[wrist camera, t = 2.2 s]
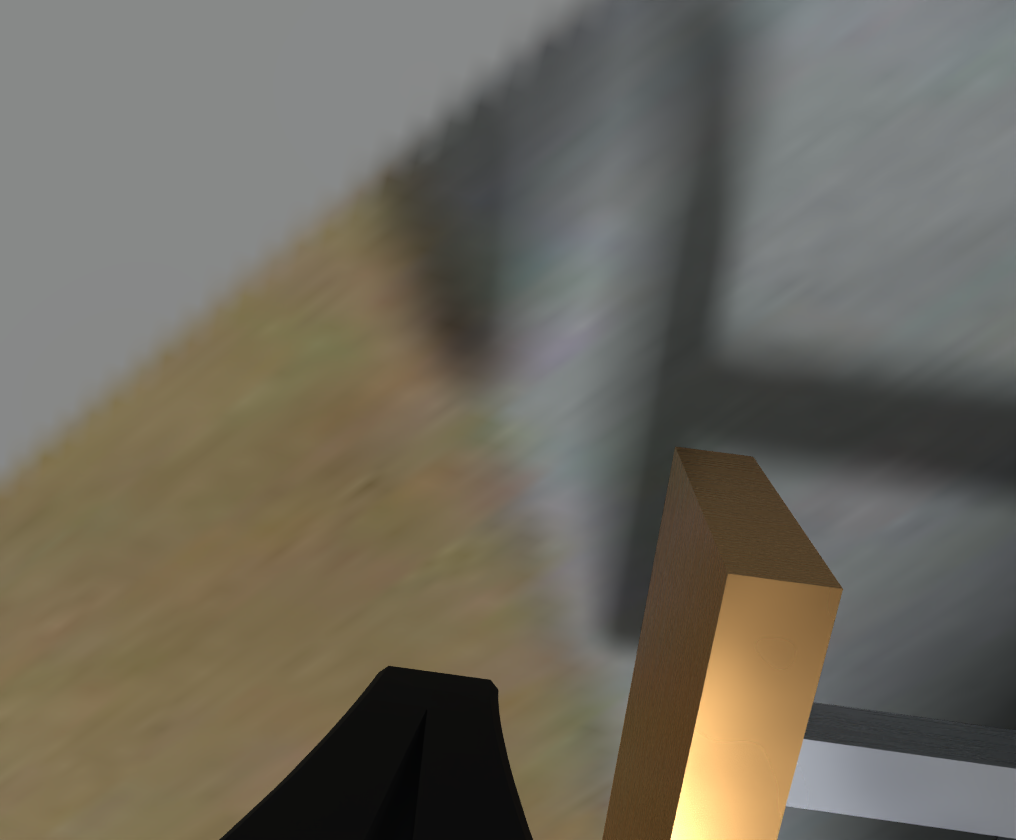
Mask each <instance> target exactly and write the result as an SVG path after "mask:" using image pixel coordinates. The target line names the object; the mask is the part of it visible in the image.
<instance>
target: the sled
mask: <svg viewBox="0 0 1016 840" xmlns="http://www.w3.org/2000/svg"><path fill="white" fill-rule="evenodd" d="M842 591H843V588H842V587H841V585H840V584H839V583H838V581H837V580H836V578H835V577H834V575H833V574H832V572H831V571H830V569H829V568H828V566H827V565H826V563H825V562H824V560H823V559H822V558H821V556H820V555H819V553H818V552H817V550H816V549H815V547H814V546H813V544H812V543H811V541H810V540H809V538H808V537H807V535H806V534H805V532H804V531H803V530H802V528H801V527H800V525H799V524H798V522H797V521H796V519H795V518H794V516H793V515H792V513H791V512H790V510H789V509H788V507H787V506H786V505H785V503H784V502H783V500H782V499H781V497H780V496H779V494H778V493H777V491H776V490H775V488H774V487H773V485H772V484H771V482H770V481H769V479H768V478H767V477H766V475H765V474H764V472H763V471H762V469H761V468H760V466H759V465H758V463H757V462H756V460H755V459H754V457H751V456H744V455H736V454H728V453H721V452H713V451H705V450H697V449H690V448H682V447H675V451H674V456H673V462H672V467H671V472H670V478H669V483H668V489H667V494H666V499H665V505H664V510H663V516H662V521H661V526H660V532H659V537H658V542H657V548H656V553H655V559H654V564H653V569H652V575H651V580H650V586H649V591H648V596H647V602H646V607H645V613H644V618H643V623H642V629H641V634H640V640H639V645H638V650H637V656H636V661H635V666H634V672H633V677H632V683H631V688H630V693H629V699H628V704H627V710H626V715H625V720H624V726H623V731H622V737H621V742H620V747H619V753H618V758H617V763H616V769H615V774H614V780H613V785H612V790H611V796H610V801H609V807H608V812H607V817H606V823H605V828H604V834H603V839H602V840H777V837H778V833H779V829H780V826H781V822H782V818H783V814H784V810H785V807H786V806H789V807H796V808H803V809H810V810H817V811H824V812H831V813H838V814H845V815H852V816H859V817H866V818H873V819H880V820H888V821H895V822H902V823H909V824H916V825H923V826H930V827H937V828H944V829H951V830H958V831H965V832H972V833H979V834H986V835H993V836H1000V837H1007V838H1014V839H1016V730H1010V729H1003V728H996V727H989V726H982V725H974V724H967V723H960V722H953V721H945V720H938V719H931V718H924V717H917V716H909V715H902V714H895V713H888V712H880V711H873V710H866V709H859V708H852V707H844V706H837V705H830V704H823V703H816V702H813V701H814V697H815V693H816V689H817V685H818V682H819V678H820V674H821V670H822V666H823V663H824V659H825V655H826V651H827V648H828V644H829V640H830V636H831V632H832V629H833V625H834V621H835V617H836V613H837V610H838V606H839V602H840V598H841V595H842Z"/></svg>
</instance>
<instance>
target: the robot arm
mask: <svg viewBox="0 0 1016 840" xmlns="http://www.w3.org/2000/svg"><path fill="white" fill-rule="evenodd" d="M219 840H533V838H532V836H531V833H530V830H529V827H528V824H527V821H526V818H525V815H524V811H523V808H522V805H521V802H520V799H519V795H518V792H517V789H516V786H515V783H514V779H513V776H512V772H511V768H510V764H509V760H508V756H507V752H506V747H505V743H504V738H503V733H502V728H501V722H500V715H499V704H498V689H497V687H496V686H495V685H494V684H493V682H492V681H491V680H488V679H481V678H473V677H466V676H459V675H452V674H444V673H437V672H430V671H422V670H415V669H408V668H400V667H393V666H388V667H386V668H385V669H383V670H382V671H380V672H379V673H378V674H377V675H376V677H375V678H374V679H373V681H372V682H371V683H370V685H369V686H368V687H367V688H366V690H365V691H364V692H363V693H362V695H361V696H360V697H359V698H358V699H357V701H356V702H355V703H354V704H353V705H352V707H351V708H350V709H349V710H348V711H347V712H346V714H345V715H344V716H343V717H342V718H341V719H340V720H339V722H338V723H337V724H336V725H335V726H334V727H333V728H332V729H331V731H330V732H329V733H328V734H327V735H326V736H325V737H324V738H323V739H322V740H321V741H320V742H319V743H318V745H317V746H316V747H315V748H314V749H313V750H312V751H311V752H310V753H309V754H308V755H307V756H306V757H305V758H304V759H303V760H302V761H301V762H300V763H299V764H298V765H297V766H296V767H295V769H294V770H293V771H292V772H291V773H290V774H289V775H288V776H287V777H286V778H285V779H284V780H283V781H282V782H281V783H280V784H279V785H278V786H277V787H276V788H275V789H274V790H272V791H271V792H270V793H269V794H268V795H267V796H266V797H265V798H264V799H263V800H262V801H261V802H260V803H259V804H257V805H256V806H255V807H254V808H253V809H252V810H251V811H250V812H249V813H248V814H247V815H246V816H245V817H243V818H242V819H241V820H240V821H239V822H238V823H237V824H236V825H235V826H234V827H233V828H232V829H231V830H229V831H228V832H227V833H226V834H225V835H224V836H223V837H222V838H221V839H219Z"/></svg>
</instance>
